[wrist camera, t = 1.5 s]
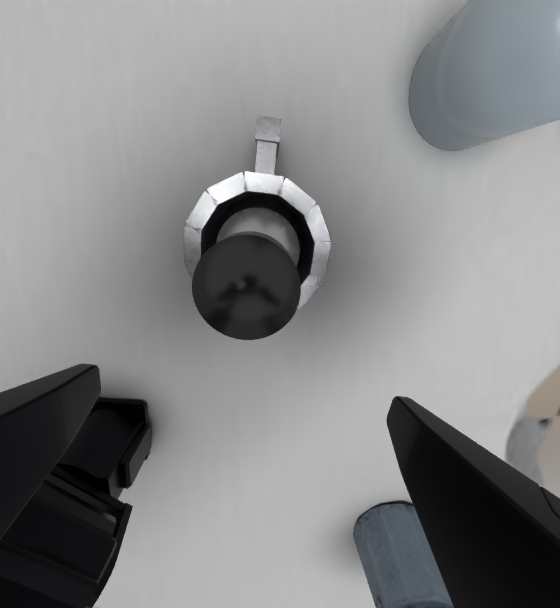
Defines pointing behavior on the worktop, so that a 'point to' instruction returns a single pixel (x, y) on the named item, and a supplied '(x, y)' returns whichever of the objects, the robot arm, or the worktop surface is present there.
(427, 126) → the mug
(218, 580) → the worktop surface
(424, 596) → the moka pot
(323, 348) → the worktop surface
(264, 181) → the press carafe
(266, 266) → the plunger
